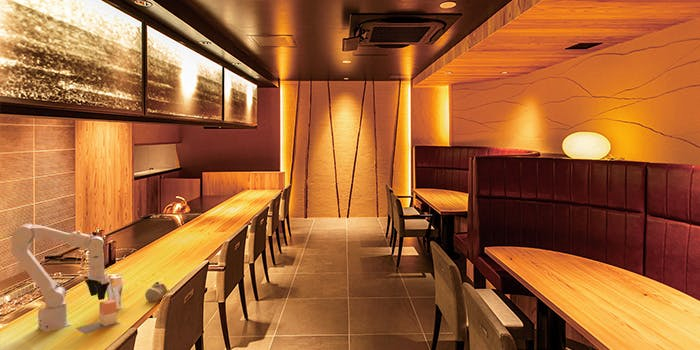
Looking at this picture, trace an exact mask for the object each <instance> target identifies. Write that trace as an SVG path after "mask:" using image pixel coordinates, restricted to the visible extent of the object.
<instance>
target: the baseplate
mask: <svg viewBox="0 0 700 350" xmlns="http://www.w3.org/2000/svg"><path fill="white" fill-rule="evenodd" d="M119 325H121V323H120V322H118V321H117V323H114V324H110V325H107V326H103V325H102V324H100V321H96V322H93V323H90V324H86V325H82V326H78V327H76V328H75V329H76V330H78V331H79V332H80V333H82V334H84V335H86V334H91V333H94V332H99V331H101V330H104V329H108V328H111V327H115V326H119Z"/></svg>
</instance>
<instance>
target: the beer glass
mask: <svg viewBox="0 0 700 350" xmlns="http://www.w3.org/2000/svg"><path fill="white" fill-rule="evenodd" d="M107 275H108V276H105V277H106V279H107V282H110V284H109V286H108V288H107V290H106V296H107V297H106V298H107V301H108V300H114V301H116V310H119V309H122V308H123V305H122V294H123V289H124V280H123V274H121V273H113V274H107Z"/></svg>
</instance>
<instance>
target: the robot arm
mask: <svg viewBox="0 0 700 350" xmlns="http://www.w3.org/2000/svg"><path fill="white" fill-rule="evenodd" d="M11 235H12V236H11V237H10V239H11V253H12V255H13V256H14V257H15V259H16V260H17V261H18V263H19V264H20V265H21V267H22V268H23V269H24V270H25V271H26V273H27V274H28V275H29V277H31V279H32V280H33V281H34V283H35V284H36V285H37V287H38V288H39V289H40V293H41V296H42V297H43V299H44V303H45V306H44V307H42V308H39V309H38V313H37V319H38V320H37V321H38V322H37V323H38V326H37V328H38V329H39V330H41V331H43V332H44V333H47V332H51V331H55V330H58V329H59V330H60V329H62V328H66V327H70V326H71V324H70V323H69V322H68V320H67V319H68V316H67V301H66V300H65V297H66V295H67V291H66V288H65V287H64V286H62V285H59V284H58V282H56V281H55V280H53V279H52V277H51V276H50V275H49V274H48V272H47V271H46V270H45V268H44V267H43V266H42V265H41V263H40V262H39V261H38V259H37V257H35V256H34V254H33V253H32V251H30V249H29V248H30V246H31V243H32V240H33V239H34V240H36V239H41V238H49V239H54V240H59V241H65V242H66V243H67V245H68V246H72V247H77V248H81V249H84V250H86V249H87V250H88V258H87V259H88V272H87V279H84V282H85V283H86V285H87V286H86V287H88V291H89V295H90V296H91V297H93V296H97V299H98V300H99V301H102V300H104V299H105V297H106V295H107V293H106V290H107V288H108V286H109V284H110V282H107V279H106V276H108V275H109V274H107V273H105V272H106V271H105V254H104V246H105V245H104V244H105V240H104V238H103V237H102V236H99V235H94V234H87V233H82V232H81V231H80V230H77V231H72V232H65V231H62V230H58V229H55V228H51V227H48V226H44V225H41V224H33V223H31V222H27V223H23V224H21V225H20V226H19V227H17V228H16V229H15V230H14V231H13V233H12V234H11Z"/></svg>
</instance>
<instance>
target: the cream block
mask: <svg viewBox="0 0 700 350" xmlns="http://www.w3.org/2000/svg"><path fill="white" fill-rule="evenodd" d="M99 322H100V324H102V325H103V326H107V325H110V324H114V323H117V322H118V313H117V311H116V312H115V313H111V314H108V315H102V314H100V313H99Z"/></svg>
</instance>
